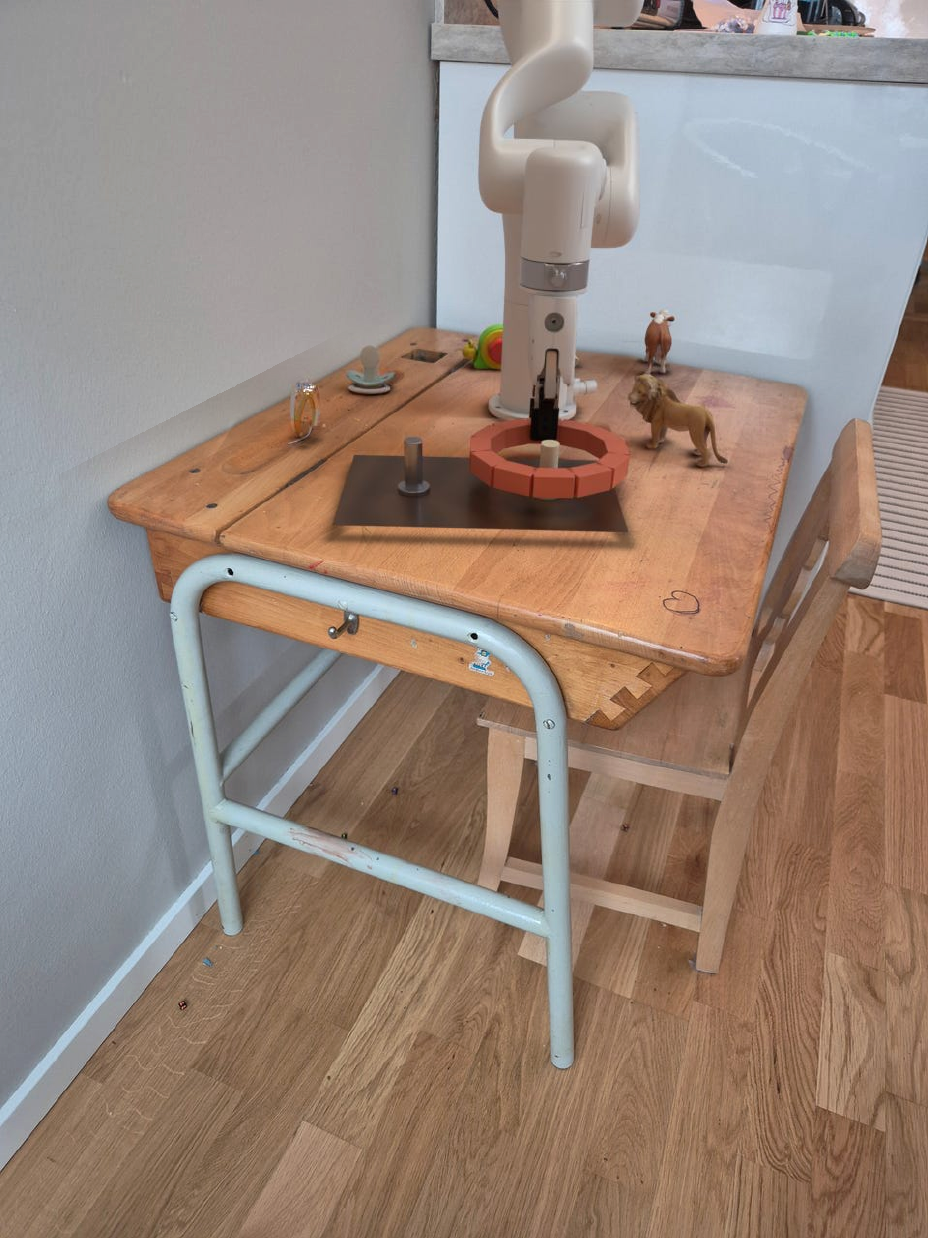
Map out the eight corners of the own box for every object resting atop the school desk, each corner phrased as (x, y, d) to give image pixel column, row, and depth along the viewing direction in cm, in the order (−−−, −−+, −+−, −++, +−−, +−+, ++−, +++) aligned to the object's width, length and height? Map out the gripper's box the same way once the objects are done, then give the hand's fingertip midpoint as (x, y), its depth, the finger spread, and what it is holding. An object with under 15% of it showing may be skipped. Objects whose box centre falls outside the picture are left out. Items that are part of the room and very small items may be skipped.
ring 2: (636, 499, 91) (639, 478, 89) (468, 496, 91) (469, 475, 89) (614, 438, 106) (616, 419, 104) (469, 435, 106) (470, 416, 104)
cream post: (552, 484, 99) (557, 435, 96) (568, 497, 96) (572, 446, 93) (525, 489, 98) (528, 439, 95) (539, 502, 95) (543, 451, 92)
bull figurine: (668, 356, 148) (676, 307, 144) (666, 380, 137) (674, 328, 133) (643, 354, 149) (649, 305, 144) (638, 377, 138) (645, 325, 133)
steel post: (423, 481, 99) (422, 432, 96) (434, 494, 96) (434, 443, 93) (393, 486, 98) (392, 436, 95) (404, 499, 95) (403, 448, 92)
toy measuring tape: (459, 360, 144) (460, 320, 140) (573, 359, 146) (577, 319, 142) (464, 372, 138) (464, 331, 135) (582, 371, 140) (586, 330, 137)
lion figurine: (615, 442, 114) (623, 376, 109) (636, 432, 118) (644, 366, 113) (717, 473, 106) (730, 402, 102) (736, 460, 110) (750, 391, 105)
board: (604, 471, 106) (606, 460, 105) (627, 544, 90) (628, 531, 90) (354, 465, 106) (353, 454, 105) (332, 537, 90) (332, 524, 90)
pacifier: (390, 397, 128) (396, 383, 133) (389, 356, 124) (395, 343, 129) (342, 395, 128) (350, 381, 133) (339, 353, 125) (347, 341, 130)
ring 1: (306, 451, 110) (301, 390, 105) (284, 448, 110) (278, 387, 106) (331, 433, 115) (327, 374, 111) (310, 430, 116) (305, 371, 112)
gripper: (596, 292, 88) (579, 461, 98) (580, 262, 101) (567, 413, 111) (523, 290, 88) (513, 460, 98) (516, 260, 101) (509, 412, 111)
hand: (542, 434), depth 104 cm, fingers closed on ring 2, 2 cm apart
